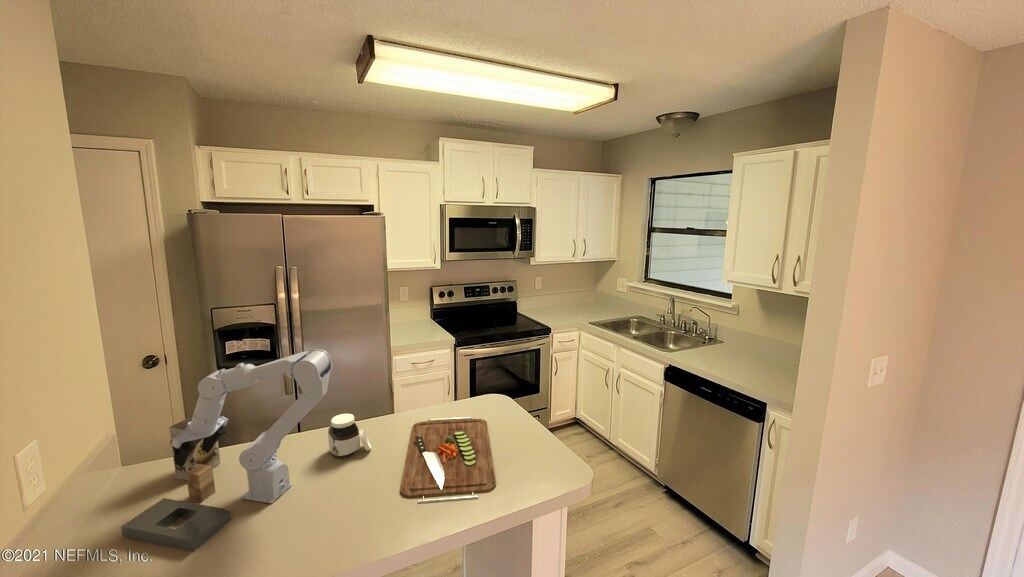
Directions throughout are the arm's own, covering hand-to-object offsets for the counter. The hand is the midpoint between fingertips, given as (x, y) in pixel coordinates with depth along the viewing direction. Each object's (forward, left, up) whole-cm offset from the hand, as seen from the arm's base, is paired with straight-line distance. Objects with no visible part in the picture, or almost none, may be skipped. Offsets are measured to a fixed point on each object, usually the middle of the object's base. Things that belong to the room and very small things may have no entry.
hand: (192, 457), depth 111 cm
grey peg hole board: (-7, +12, -11) cm, 17 cm away
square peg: (-2, +1, -11) cm, 11 cm away
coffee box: (+9, -8, -11) cm, 16 cm away
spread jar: (-29, -27, -11) cm, 42 cm away
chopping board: (-61, -33, -12) cm, 70 cm away
